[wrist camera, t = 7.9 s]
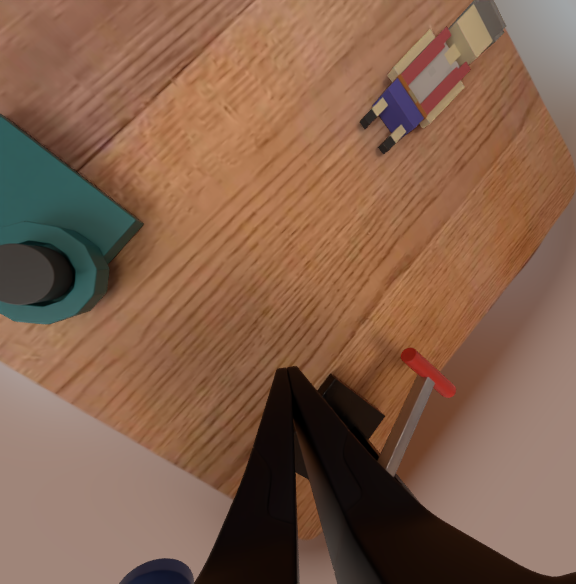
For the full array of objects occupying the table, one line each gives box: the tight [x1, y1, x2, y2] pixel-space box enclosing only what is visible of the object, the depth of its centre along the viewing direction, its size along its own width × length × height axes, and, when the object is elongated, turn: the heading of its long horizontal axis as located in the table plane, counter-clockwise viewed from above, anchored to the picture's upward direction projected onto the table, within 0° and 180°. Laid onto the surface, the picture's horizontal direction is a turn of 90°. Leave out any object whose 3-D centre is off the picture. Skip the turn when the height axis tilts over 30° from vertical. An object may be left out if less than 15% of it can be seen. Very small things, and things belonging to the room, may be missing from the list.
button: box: [0, 244, 73, 305], centre depth 14 cm, size 4×4×2 cm
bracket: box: [294, 374, 419, 502], centre depth 21 cm, size 10×8×10 cm
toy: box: [360, 0, 506, 154], centre depth 22 cm, size 6×4×15 cm
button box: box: [0, 114, 143, 324], centre depth 16 cm, size 10×13×4 cm
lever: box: [378, 348, 456, 477], centre depth 19 cm, size 13×6×2 cm, turn 140°
